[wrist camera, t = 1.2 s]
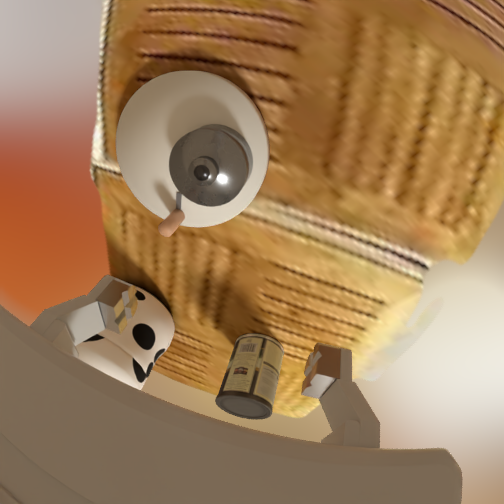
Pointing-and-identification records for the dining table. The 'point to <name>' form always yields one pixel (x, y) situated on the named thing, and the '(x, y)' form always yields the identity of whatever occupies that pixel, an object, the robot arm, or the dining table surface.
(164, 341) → the milk container
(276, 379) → the coffee can
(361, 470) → the robot arm
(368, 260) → the dining table surface
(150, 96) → the crank wheel
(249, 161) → the iron cover
